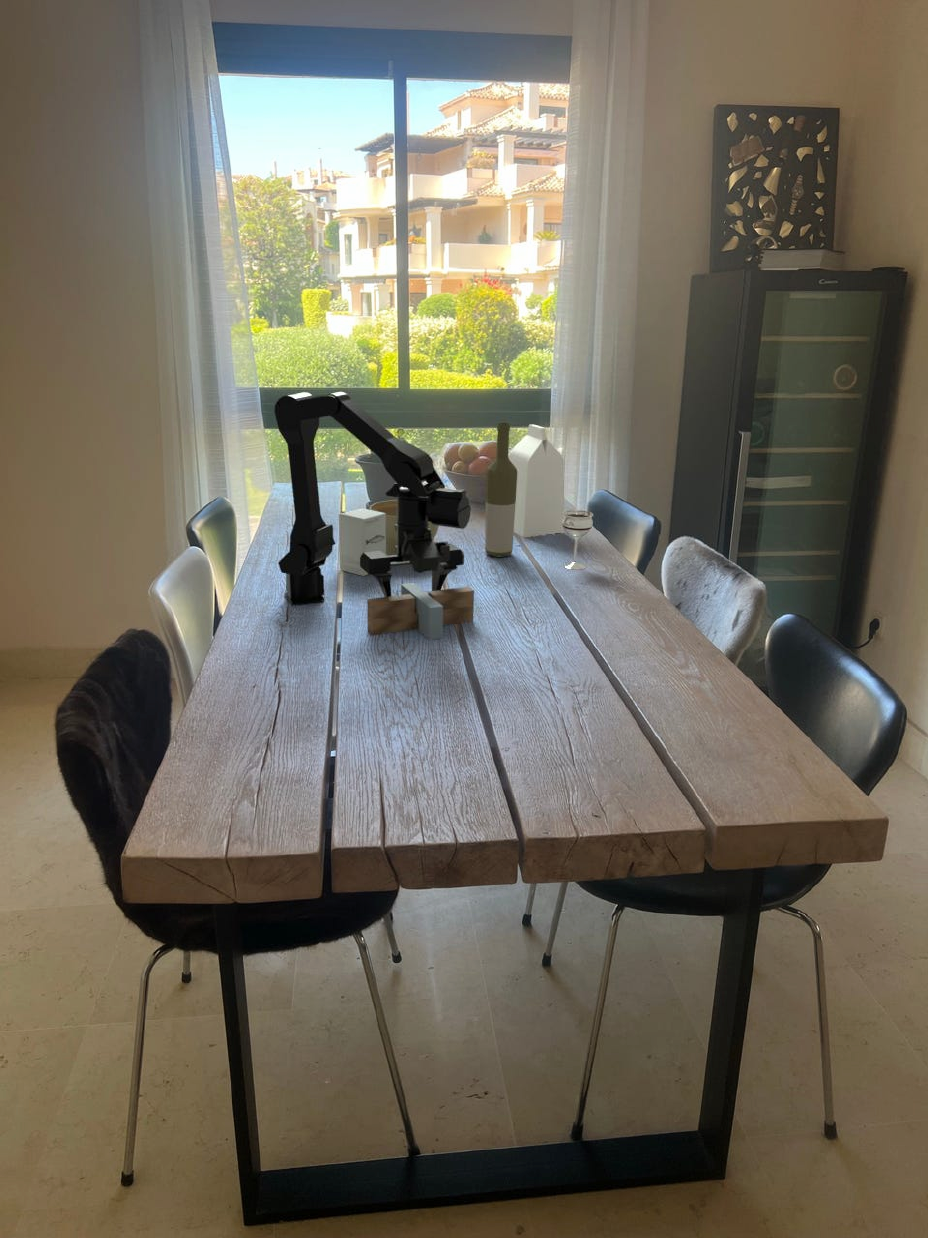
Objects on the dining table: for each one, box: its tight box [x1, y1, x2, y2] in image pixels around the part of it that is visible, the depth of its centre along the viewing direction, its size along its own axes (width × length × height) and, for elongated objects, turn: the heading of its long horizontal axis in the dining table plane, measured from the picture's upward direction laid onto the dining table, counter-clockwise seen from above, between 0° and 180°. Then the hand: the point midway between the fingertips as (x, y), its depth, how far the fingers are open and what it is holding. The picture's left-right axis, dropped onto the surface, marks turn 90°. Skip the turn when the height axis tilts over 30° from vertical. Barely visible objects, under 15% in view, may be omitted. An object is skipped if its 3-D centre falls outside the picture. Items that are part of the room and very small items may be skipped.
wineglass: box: [562, 509, 594, 570], centre depth 209 cm, size 7×7×12 cm
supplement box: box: [338, 508, 386, 577], centre depth 203 cm, size 7×7×13 cm
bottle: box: [484, 422, 517, 558], centre depth 213 cm, size 7×7×30 cm
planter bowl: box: [369, 499, 440, 556], centre depth 215 cm, size 16×16×11 cm
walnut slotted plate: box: [366, 586, 475, 636], centre depth 173 cm, size 20×2×6 cm, turn 115°
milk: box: [508, 423, 566, 538], centre depth 235 cm, size 12×12×26 cm
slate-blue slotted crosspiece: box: [400, 582, 444, 641], centre depth 173 cm, size 14×2×6 cm, turn 25°
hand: (412, 602), depth 177 cm, fingers open, 9 cm apart
